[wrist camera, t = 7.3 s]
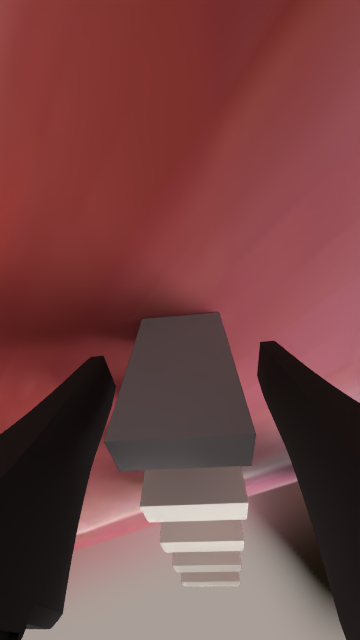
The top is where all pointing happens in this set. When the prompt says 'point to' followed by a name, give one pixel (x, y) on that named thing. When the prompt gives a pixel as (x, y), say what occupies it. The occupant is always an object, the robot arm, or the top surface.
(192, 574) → the ivory domino
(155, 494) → the ivory domino
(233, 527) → the ivory domino
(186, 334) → the charcoal domino
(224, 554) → the ivory domino
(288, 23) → the top surface
